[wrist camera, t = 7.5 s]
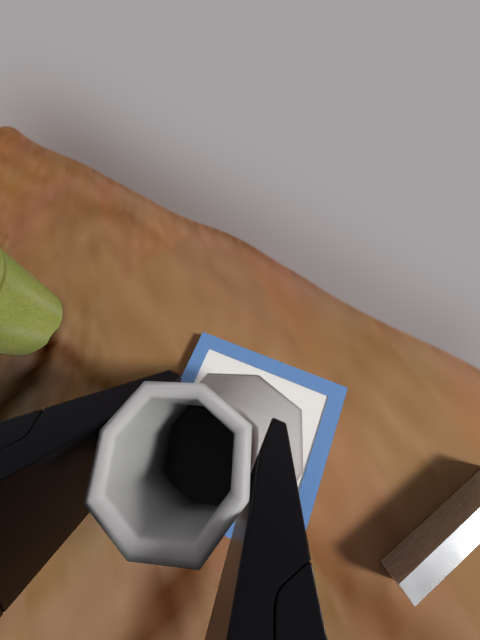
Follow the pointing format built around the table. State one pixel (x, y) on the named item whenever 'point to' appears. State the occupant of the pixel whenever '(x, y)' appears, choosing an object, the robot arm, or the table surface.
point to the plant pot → (25, 310)
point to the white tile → (297, 385)
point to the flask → (183, 464)
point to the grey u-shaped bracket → (437, 543)
